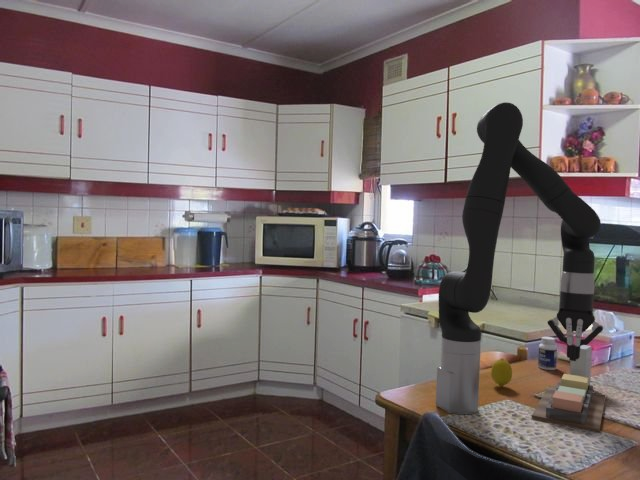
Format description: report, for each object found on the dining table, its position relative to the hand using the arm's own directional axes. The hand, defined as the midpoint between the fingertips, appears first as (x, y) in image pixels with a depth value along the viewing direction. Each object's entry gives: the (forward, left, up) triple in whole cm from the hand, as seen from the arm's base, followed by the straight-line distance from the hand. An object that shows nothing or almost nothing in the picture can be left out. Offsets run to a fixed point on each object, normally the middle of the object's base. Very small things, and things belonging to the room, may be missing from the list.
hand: (573, 360), depth 131 cm
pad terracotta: (-7, -5, -10) cm, 13 cm away
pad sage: (0, 0, -11) cm, 11 cm away
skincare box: (+15, +12, -12) cm, 23 cm away
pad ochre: (+7, +6, -10) cm, 14 cm away
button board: (0, 0, -12) cm, 12 cm away
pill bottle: (+22, +32, -12) cm, 41 cm away
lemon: (-6, +19, -12) cm, 24 cm away
